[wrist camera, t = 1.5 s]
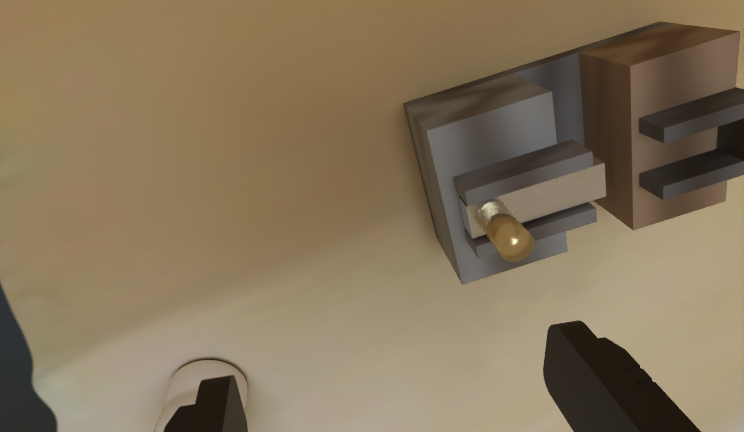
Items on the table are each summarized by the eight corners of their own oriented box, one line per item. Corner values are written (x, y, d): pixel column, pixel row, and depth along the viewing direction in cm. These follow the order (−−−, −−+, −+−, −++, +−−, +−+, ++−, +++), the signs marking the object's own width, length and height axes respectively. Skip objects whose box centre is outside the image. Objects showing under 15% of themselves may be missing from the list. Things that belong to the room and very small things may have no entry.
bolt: (588, 153, 31) (645, 187, 26) (590, 185, 32) (645, 223, 27) (457, 195, 31) (488, 237, 26) (463, 225, 32) (494, 271, 27)
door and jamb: (660, 21, 35) (775, 35, 27) (658, 166, 41) (753, 215, 32) (403, 103, 35) (436, 143, 27) (436, 236, 41) (473, 304, 32)
